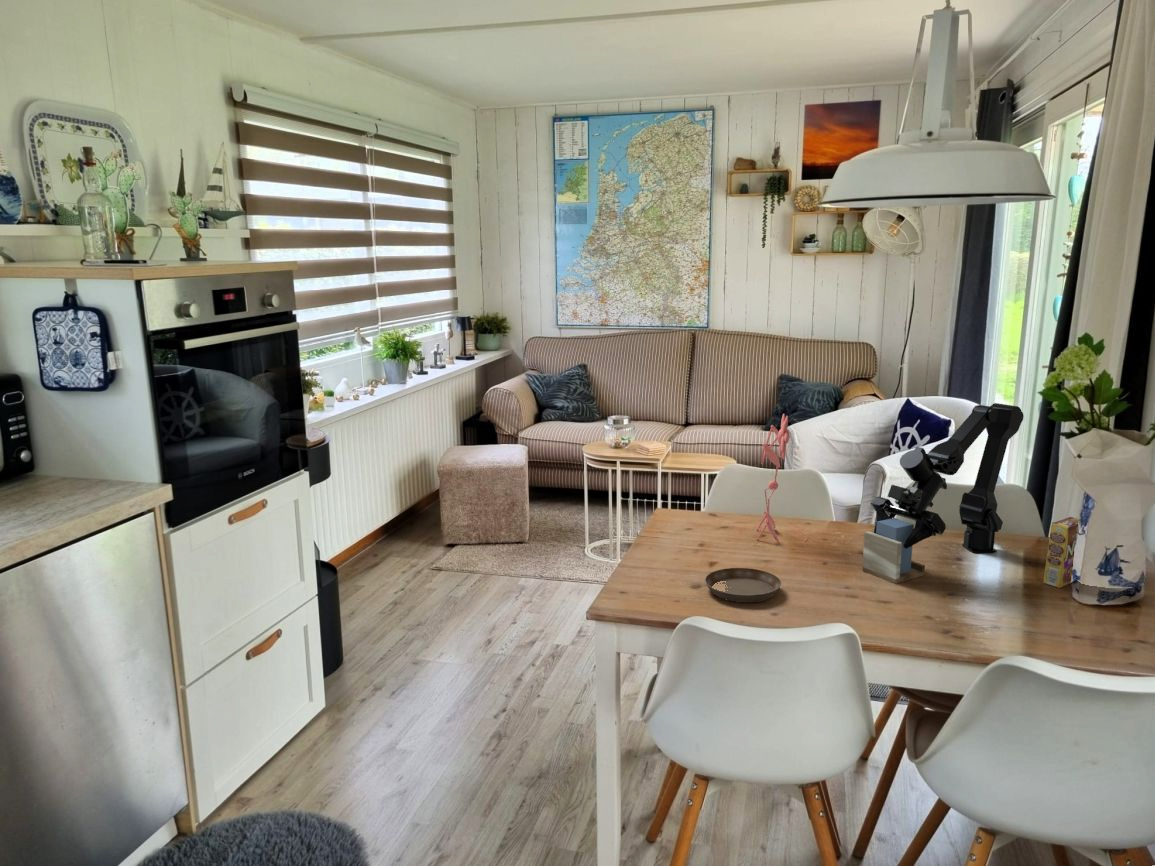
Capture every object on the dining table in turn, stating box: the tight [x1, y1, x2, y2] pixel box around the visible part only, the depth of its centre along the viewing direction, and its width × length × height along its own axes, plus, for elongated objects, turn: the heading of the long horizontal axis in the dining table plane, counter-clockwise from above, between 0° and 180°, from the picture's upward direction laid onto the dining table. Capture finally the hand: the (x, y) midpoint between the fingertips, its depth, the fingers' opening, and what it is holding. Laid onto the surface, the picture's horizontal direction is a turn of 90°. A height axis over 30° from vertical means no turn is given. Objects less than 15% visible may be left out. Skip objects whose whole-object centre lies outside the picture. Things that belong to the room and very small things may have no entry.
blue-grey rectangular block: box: [876, 517, 915, 574], centre depth 206 cm, size 7×6×12 cm
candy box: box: [1043, 516, 1080, 589], centre depth 199 cm, size 9×4×15 cm, turn 123°
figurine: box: [753, 413, 808, 548], centre depth 232 cm, size 15×26×35 cm, turn 168°
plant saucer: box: [704, 567, 782, 603], centre depth 197 cm, size 18×18×3 cm
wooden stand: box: [861, 531, 926, 584], centre depth 207 cm, size 10×10×10 cm
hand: (889, 542), depth 205 cm, fingers open, 9 cm apart
